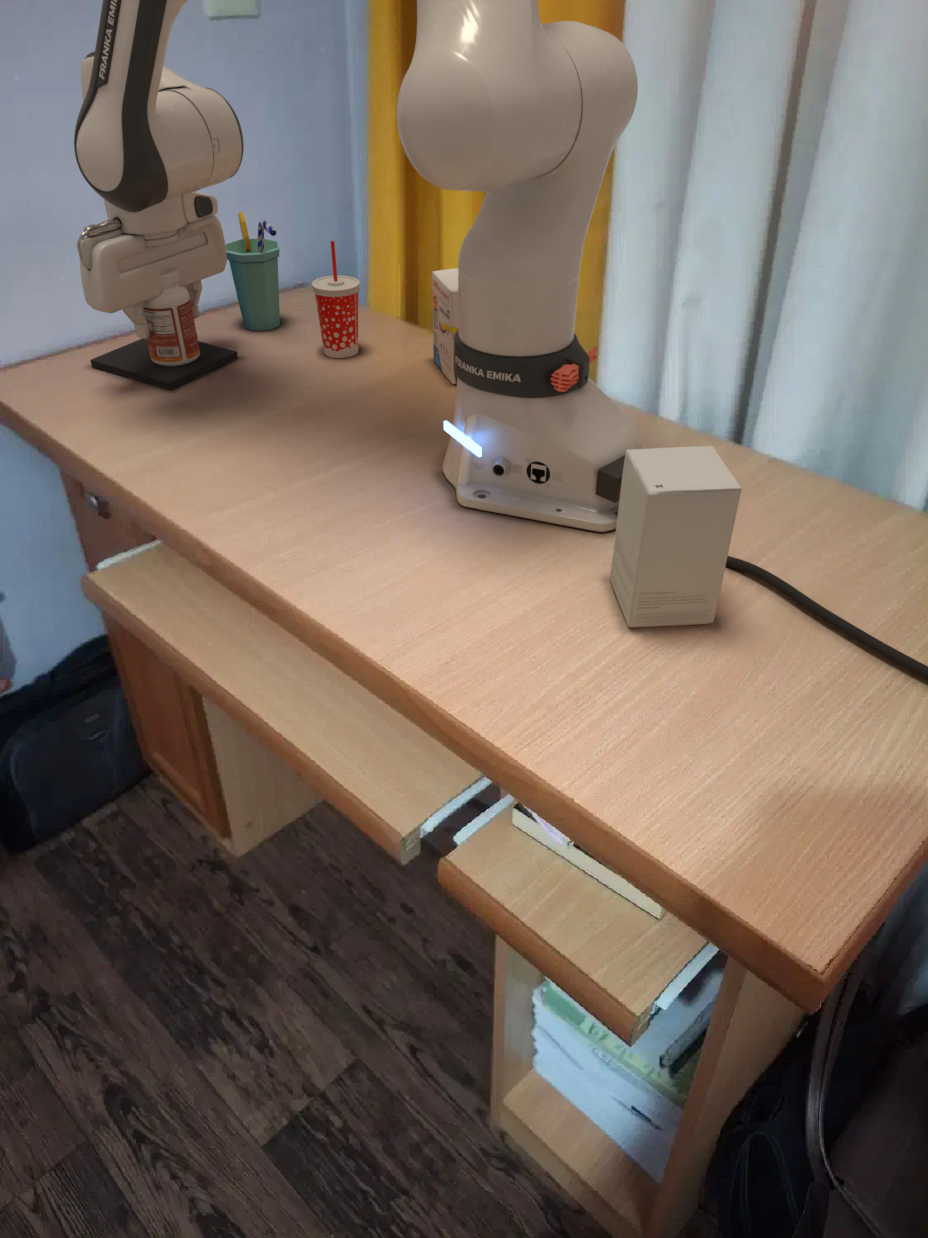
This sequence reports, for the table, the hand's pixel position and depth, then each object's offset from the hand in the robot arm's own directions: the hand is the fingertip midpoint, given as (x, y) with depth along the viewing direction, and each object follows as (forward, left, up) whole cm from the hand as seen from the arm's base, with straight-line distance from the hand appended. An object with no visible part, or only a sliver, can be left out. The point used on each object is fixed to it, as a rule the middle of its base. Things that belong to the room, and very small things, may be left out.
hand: (169, 327), depth 114 cm
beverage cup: (-15, -15, -5) cm, 22 cm away
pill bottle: (0, 0, -4) cm, 4 cm away
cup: (0, -17, -5) cm, 18 cm away
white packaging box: (-72, +16, -5) cm, 74 cm away
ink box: (-33, -19, -5) cm, 39 cm away
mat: (+2, 0, -5) cm, 5 cm away
